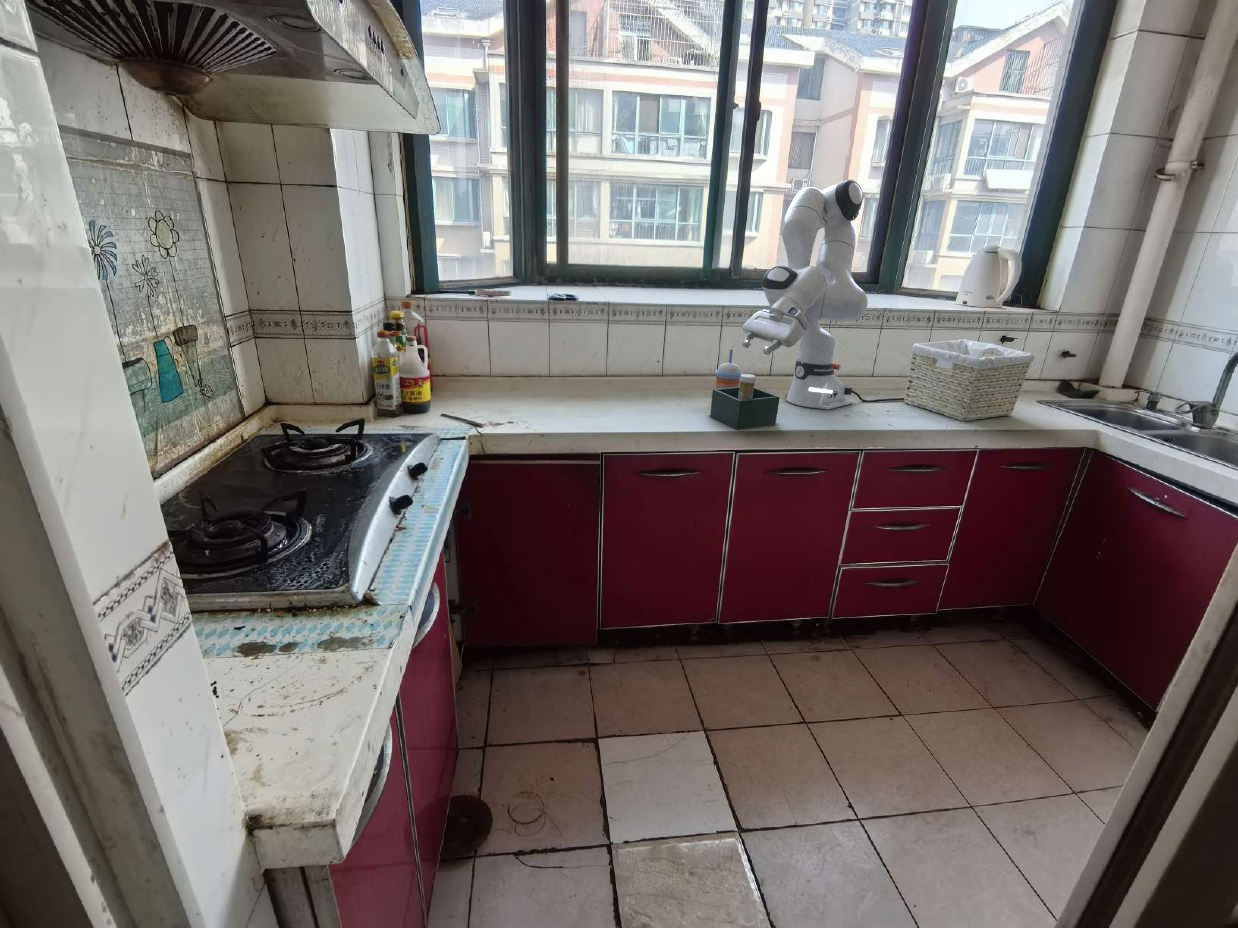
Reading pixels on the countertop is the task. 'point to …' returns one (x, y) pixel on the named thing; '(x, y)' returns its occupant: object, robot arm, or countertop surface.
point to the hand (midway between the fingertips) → (754, 349)
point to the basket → (966, 378)
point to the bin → (744, 408)
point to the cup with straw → (728, 374)
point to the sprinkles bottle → (746, 386)
